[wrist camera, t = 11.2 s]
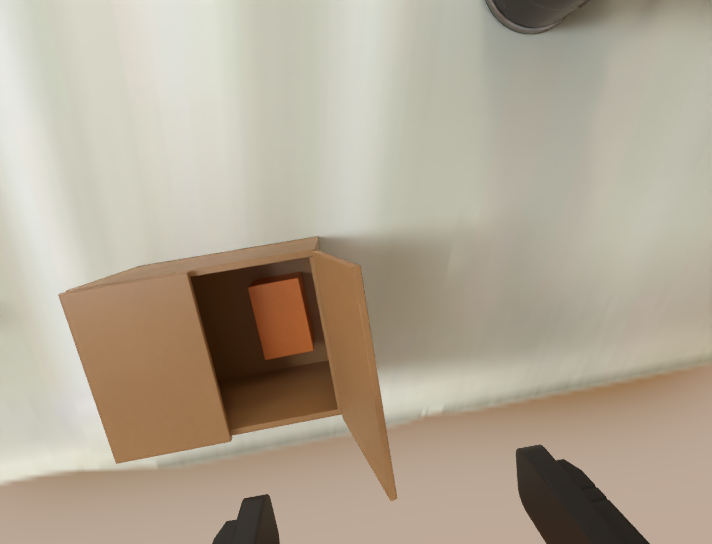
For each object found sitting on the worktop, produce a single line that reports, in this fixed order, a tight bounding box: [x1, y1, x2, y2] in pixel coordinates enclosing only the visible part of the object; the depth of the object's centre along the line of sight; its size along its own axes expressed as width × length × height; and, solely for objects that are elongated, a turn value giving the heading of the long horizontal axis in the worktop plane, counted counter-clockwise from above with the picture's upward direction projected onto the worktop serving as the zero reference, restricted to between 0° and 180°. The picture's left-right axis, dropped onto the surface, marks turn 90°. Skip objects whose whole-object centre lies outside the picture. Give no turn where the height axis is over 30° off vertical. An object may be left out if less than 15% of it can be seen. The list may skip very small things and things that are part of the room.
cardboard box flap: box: [312, 250, 397, 501], centre depth 22 cm, size 8×13×1 cm
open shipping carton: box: [59, 236, 342, 464], centre depth 30 cm, size 17×13×10 cm
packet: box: [248, 272, 315, 360], centre depth 33 cm, size 7×4×3 cm, turn 10°
